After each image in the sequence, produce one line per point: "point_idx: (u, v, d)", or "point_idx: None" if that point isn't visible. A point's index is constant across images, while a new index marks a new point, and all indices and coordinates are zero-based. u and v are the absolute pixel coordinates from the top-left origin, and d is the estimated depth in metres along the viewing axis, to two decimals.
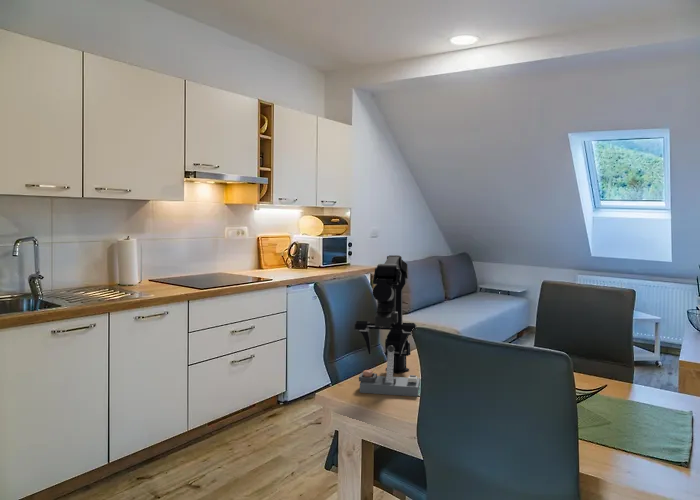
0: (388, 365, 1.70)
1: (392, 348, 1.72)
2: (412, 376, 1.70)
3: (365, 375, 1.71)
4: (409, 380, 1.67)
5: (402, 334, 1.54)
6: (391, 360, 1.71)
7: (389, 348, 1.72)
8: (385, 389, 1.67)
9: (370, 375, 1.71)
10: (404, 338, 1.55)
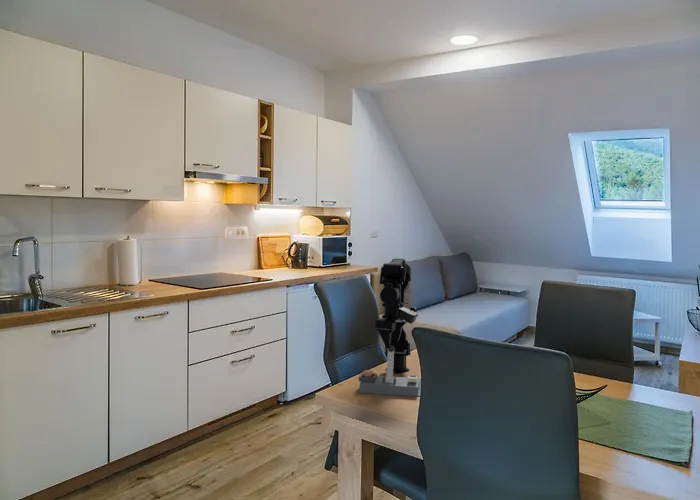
0: (388, 365, 1.70)
1: (392, 348, 1.72)
2: (412, 376, 1.70)
3: (365, 375, 1.71)
4: (409, 380, 1.67)
5: (405, 323, 1.80)
6: (391, 360, 1.71)
7: (389, 348, 1.72)
8: (385, 389, 1.67)
9: (370, 375, 1.71)
10: (402, 326, 1.81)
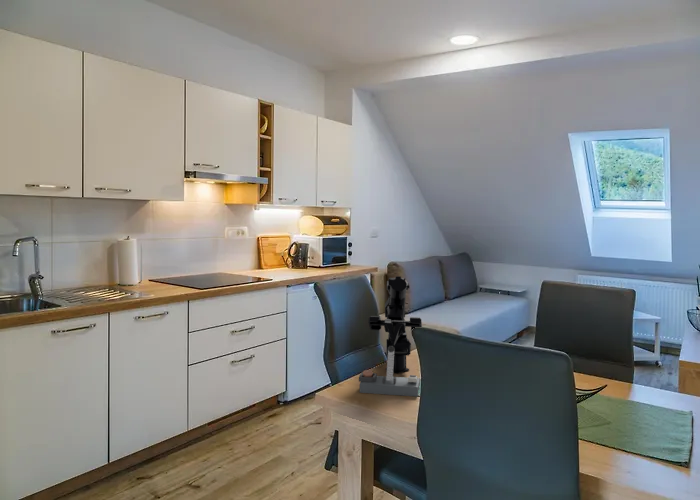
0: (388, 365, 1.71)
1: (392, 348, 1.72)
2: (412, 376, 1.70)
3: (365, 375, 1.71)
4: (409, 380, 1.67)
5: None
6: (391, 360, 1.71)
7: (389, 348, 1.72)
8: (385, 389, 1.67)
9: (370, 375, 1.71)
10: None
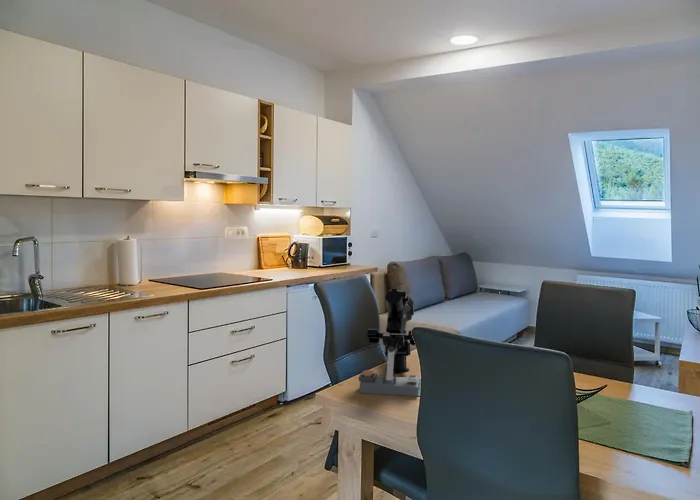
0: (388, 365, 1.71)
1: (392, 348, 1.72)
2: (412, 376, 1.70)
3: (365, 375, 1.71)
4: (409, 380, 1.67)
5: None
6: (391, 360, 1.71)
7: (389, 348, 1.72)
8: (385, 389, 1.67)
9: (370, 375, 1.71)
10: None
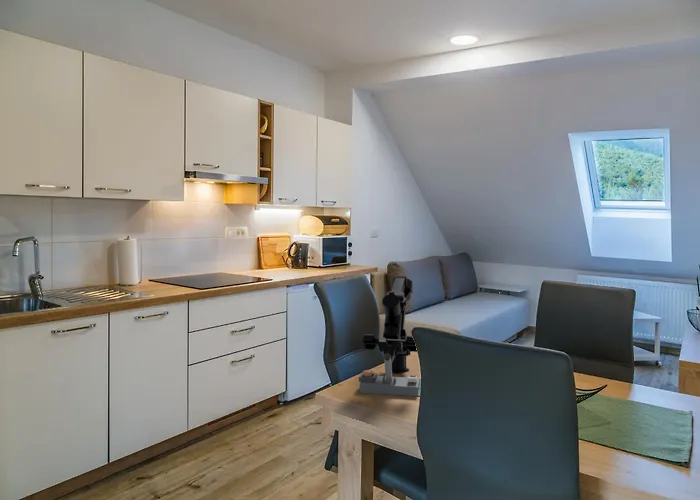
0: (386, 371, 1.66)
1: (388, 358, 1.63)
2: (412, 376, 1.70)
3: (365, 375, 1.71)
4: (409, 380, 1.67)
5: None
6: (389, 367, 1.65)
7: (385, 359, 1.63)
8: (385, 389, 1.67)
9: (370, 375, 1.71)
10: None
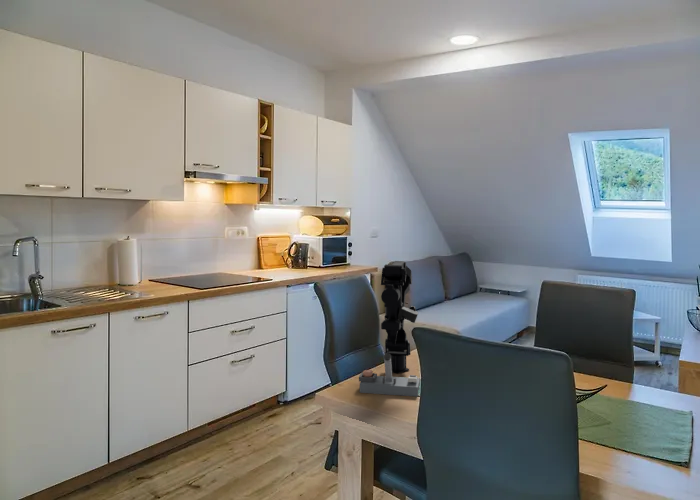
0: (386, 371, 1.66)
1: (388, 358, 1.63)
2: (412, 376, 1.70)
3: (365, 375, 1.71)
4: (409, 380, 1.67)
5: (401, 325, 1.79)
6: (389, 367, 1.65)
7: (385, 359, 1.63)
8: (385, 389, 1.67)
9: (370, 375, 1.71)
10: None
